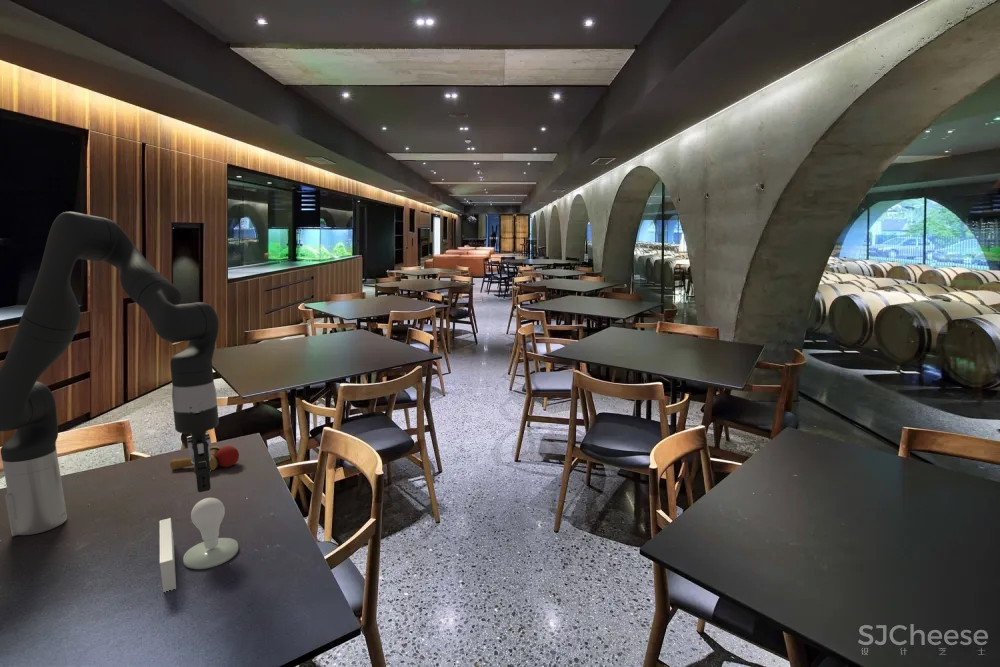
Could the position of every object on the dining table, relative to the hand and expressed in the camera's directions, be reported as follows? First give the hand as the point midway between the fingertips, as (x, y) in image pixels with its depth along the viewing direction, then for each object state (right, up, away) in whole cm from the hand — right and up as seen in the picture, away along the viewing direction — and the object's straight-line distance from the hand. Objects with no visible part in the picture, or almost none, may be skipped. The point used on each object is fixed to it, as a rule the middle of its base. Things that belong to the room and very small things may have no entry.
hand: (202, 482), depth 107 cm
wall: (-6, -16, -1) cm, 18 cm away
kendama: (-25, -9, +46) cm, 53 cm away
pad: (0, -16, +3) cm, 16 cm away
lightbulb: (0, -15, +4) cm, 15 cm away
